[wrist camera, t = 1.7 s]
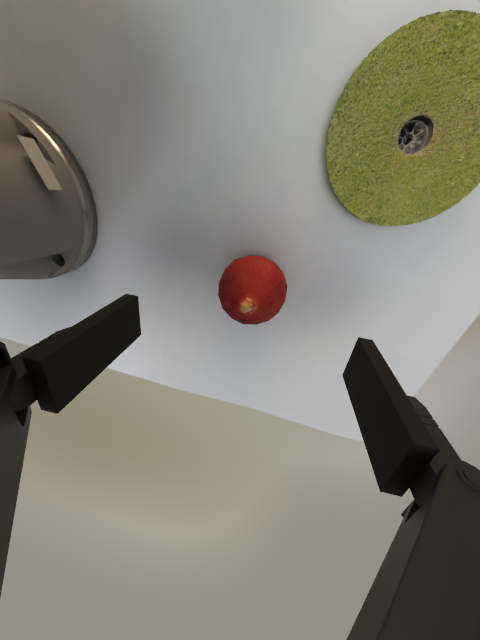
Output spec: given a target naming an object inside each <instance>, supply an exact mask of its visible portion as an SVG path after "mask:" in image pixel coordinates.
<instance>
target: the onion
mask: <svg viewBox="0 0 480 640" xmlns="http://www.w3.org/2000/svg"><path fill="white" fill-rule="evenodd" d="M286 291H287V284H286V281H285V277H284V274H283V272H282V271H281V270H280V268H279V267H278V266H277V265H276V264H275V263H274V262H272V261H270V260H269V259H267V258H265V257H261V256H252V255H250V256H246V257H243V258H239V259H236V260H234V261H233V262H232V263H231V264H230V265H229V266H228V267H227V268H226V269H225V271H224V273H223V275H222V277H221V279H220V282H219V292H218V295H219V299H220V302H221V305H222V308H223V309H224V310H225V312H226V313H227V314H228V315H229V316H230V317H231V318H232V319H234V320H236V321H238V322H240V323H242V324H259V323H263V322H266V321H269V320H270V319H271V318H273V317H274V316H275V315H276V314H278V312H279V311H280V309H281V307H282V305H283V304H284V302H285V297H286Z"/></svg>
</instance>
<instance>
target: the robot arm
mask: <svg viewBox="0 0 480 640" xmlns="http://www.w3.org/2000/svg"><path fill="white" fill-rule="evenodd" d="M96 229H97V219H96V210H95V205H94V200H93V197H92V193H91V190H90V187H89V184H88V182H87V180H86V177H85V175H84V173H83V171H82V169H81V167H80V165H79V164H78V162H77V160H76V159H75V157H74V155H73V154H72V152H71V151H70V150H69V148H68V147H67V146H66V144H65V143H64V142H63V141H62V139H61V138H60V137H59V136H58V135H57V134H56V133H55V132H54V131H53V130H52V129H51V128H50V127H49V126H48V125H47V124H46V123H45V122H43V121H42V120H41V119H40V118H38V117H37V116H35V115H34V114H33V113H31V112H29V111H28V110H26V109H24V108H22V107H20V106H18V105H16V104H13V103H10V102H8V101H5V100H2V99H0V279H47V278H53V277H57V276H60V275H62V274H65V273H68V272H71V271H73V270H75V269H77V268H78V267H80V266H81V265H82V264H83V263H84V262H85V261H86V259H87V258H88V257H89V255H90V253H91V251H92V249H93V246H94V242H95V238H96ZM140 335H141V328H140V316H139V303H138V296H134V295H129V294H125V295H124V296H122V297H120V298H119V299H117V300H115V301H114V302H112V303H110V304H109V305H107V306H105V307H104V308H102V309H100V310H99V311H97V312H95V313H94V314H92V315H90V316H89V317H87V318H86V319H84V320H82V321H81V322H79V323H77V324H76V325H74V326H72V327H69V328H66V329H63V330H60V331H57V332H55V333H54V334H52V335H50V336H49V337H47V339H46V338H45V339H43V340H42V341H40V342H39V343H37V344H35V345H33V346H32V347H30V348H28V349H26V350H25V351H23V352H21V353H20V354H18V355H16V356H15V357H13V358H10V356H9V353H8V351H7V348H6V346H5V344H4V343H2V342H0V595H1V590H2V584H3V578H4V572H5V566H6V560H7V554H8V548H9V542H10V537H11V531H12V525H13V519H14V513H15V507H16V501H17V495H18V489H19V484H20V478H21V472H22V466H23V460H24V454H25V448H26V442H27V436H28V430H29V424H30V418H31V413H32V412H31V408H30V405H31V404H32V403H34V402H35V401H36V400H38V403H39V405H40V408H41V410H45V411H49V412H53V413H59V412H60V411H61V410H62V409H63V408H64V407H65V406H66V405H67V404H68V403H69V402H70V401H72V400H73V399H74V398H75V397H76V396H77V395H78V394H79V393H80V392H81V391H82V390H83V389H84V388H85V387H86V386H87V385H88V384H89V383H90V382H92V380H94V379H95V378H96V377H97V376H98V375H99V374H100V373H101V372H102V371H103V370H104V369H105V368H106V367H107V366H108V365H109V364H111V363H112V362H113V361H114V360H115V359H116V358H117V357H118V356H119V355H120V354H121V353H122V352H123V351H124V350H125V349H126V348H127V347H128V346H130V345H131V344H132V343H133V342H134V341H135V340H136V339H137V338H138V337H139V336H140ZM343 378H344V381H345V384H346V388H347V391H348V394H349V397H350V400H351V403H352V406H353V409H354V412H355V415H356V418H357V421H358V424H359V428H360V431H361V434H362V437H363V440H364V443H365V446H366V449H367V452H368V455H369V458H370V461H371V464H372V467H373V471H374V474H375V477H376V480H377V483H378V486H379V489H380V492H385V493H389V494H393V495H397V496H401V497H402V496H403V494H404V493H405V492H406V491H407V490H408V488H410V490H411V492H412V494H413V497H414V500H413V502H412V503H411V504H410V505H409V506H408V507H407V508H406V509H405V511H404V512H403V513H402V514H401V515H402V516H403V517H404V518H403V520H402V523H401V525H400V527H399V529H398V531H397V534H396V535H395V538H394V540H393V542H392V544H391V546H390V548H389V550H388V552H387V555H386V557H385V559H384V561H383V563H382V566H381V567H380V570H379V572H378V574H377V576H376V578H375V580H374V583H373V585H372V587H371V589H370V591H369V593H368V595H367V597H366V599H365V602H364V604H363V606H362V608H361V610H360V612H359V615H358V617H357V619H356V621H355V623H354V625H353V627H352V630H351V631H350V634H349V636H348V638H347V640H480V470H478V469H477V468H476V467H474V466H472V465H470V464H468V463H467V462H464V461H461V459H460V458H459V456H458V455H457V453H456V452H455V450H454V449H453V447H452V446H451V444H450V443H449V441H448V440H447V438H446V437H445V435H444V434H443V432H442V431H441V429H439V428H438V425H437V423H436V422H435V421H434V420H433V419H432V416H431V415H430V413H429V412H428V410H427V409H426V407H425V406H424V405H423V404H422V403H420V402H419V401H418V400H417V399H416V398H415V397H411V396H407V395H406V394H405V392H404V391H403V389H402V387H401V386H400V384H399V382H398V381H397V379H396V378H395V376H394V374H393V373H392V371H391V369H390V368H389V366H388V365H387V363H386V361H385V360H384V358H383V356H382V355H381V353H380V352H379V350H378V348H377V347H376V345H375V343H374V342H373V340H369V339H364V338H359V337H358V340H357V342H356V344H355V347H354V349H353V351H352V354H351V356H350V359H349V361H348V363H347V366H346V368H345V371H344V373H343Z"/></svg>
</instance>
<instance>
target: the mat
mask: <svg viewBox="0 0 480 640" xmlns="http://www.w3.org/2000/svg"><path fill="white" fill-rule="evenodd" d="M349 81H350V82H348V83H347V85H346V87H345V89H344V91H343V93H342V95H341V96H340V98H339V100H338V102H337V106H336V108H335V111H334V114H333V116H332V119H331V123H330V126H329V131H328V138H327V144H326V153H327V169H328V174H329V179H330V180H331V185H332V187H333V191H335V194H336V195H337V197H338V199H339V200H340V201H341V203H342V204H343V205H345V207H346V208H347V209H348V211H349V212H351V213H353V214H354V215H355V216H356V217H358V218H360V219H362V220H364V221H367V222H370V223H372V224H377V225H381V226H403V225H408V224H413V223H417V222H421V221H423V220H427V219H429V218H431V217H434V216H436V215H437V214H440V213H442V212H443V211H445V210H447V209H449V208H450V207H452V206H453V205H455V204H456V203H458V202H459V201H460V200H461V199H463V198H464V197H465V196H467V195H468V194H469V193H470V192H471V191H472V190H473V189H474V188H475V187H476V186H477V185H478V184H479V183H480V14H479V13H478V14H477V15H476V12H468V11H461V10H454V11H453V10H449V11H446V12H437V13H435V14H431V15H427V16H425V17H420V18H418V19H416V20H415V21H412V22H410V23H409V24H407V25H405V26H402V27H401V28H400V29H398V30H397V31H396V32H394V33H393V34H392V35H390V36H388V37H387V38H386V39H385V40H384V41H382V42H381V43H380V44H379V45H378V46H377V47H375V48H374V49H373V51H372V52H370V53H369V55H368V56H367V57H366V58H365V59H364V60H363V61H362V63H361V65H360V66H359V67H358V68H357V70H356V71H355V72H354V73H353V75H352V76H351V78H350V80H349Z"/></svg>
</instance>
